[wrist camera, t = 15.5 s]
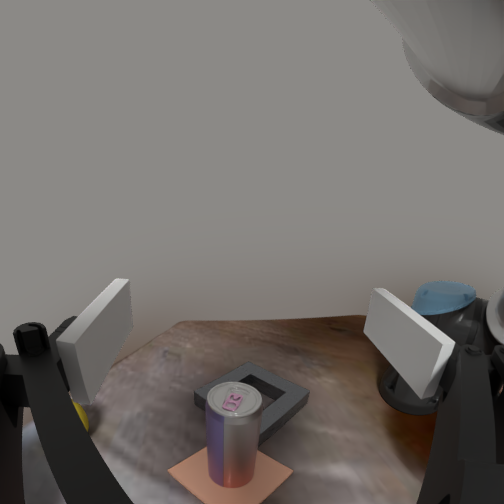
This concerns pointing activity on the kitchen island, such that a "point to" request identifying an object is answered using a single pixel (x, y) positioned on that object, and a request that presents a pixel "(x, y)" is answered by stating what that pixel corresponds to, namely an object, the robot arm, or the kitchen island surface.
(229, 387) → the beverage can
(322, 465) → the kitchen island surface
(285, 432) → the kitchen island surface
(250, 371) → the socket block
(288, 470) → the terracotta tile
